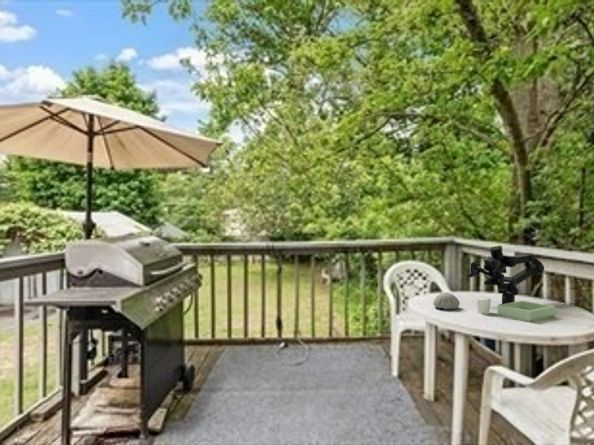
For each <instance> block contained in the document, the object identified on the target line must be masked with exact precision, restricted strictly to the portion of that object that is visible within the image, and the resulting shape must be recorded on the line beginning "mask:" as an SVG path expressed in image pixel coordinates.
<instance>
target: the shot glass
mask: <svg viewBox="0 0 594 445" xmlns="http://www.w3.org/2000/svg"><path fill="white" fill-rule="evenodd" d="M491 301H492V300H491V298H487V297H477V298H476V310H477V313H478V314H480V313H481V314H480V315H488V314H490V312H491Z"/></svg>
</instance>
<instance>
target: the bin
mask: <svg viewBox="0 0 594 445" xmlns="http://www.w3.org/2000/svg"><path fill="white" fill-rule="evenodd" d="M500 304H501V305H500ZM500 304H497V309H496V310H497V313H496V315H497V316H499V317H504V318H508V319H509V318H510V319H513V320H517V321H518V320H519V321H523V322H528V323H532V322H538V321H542V320H546V319H551V318H555V316H556V310H555V309H556V307H555V306H554V305H549V304H543V303H539V302H532V301H527V300H526V301H525V300H517V301H515V302H512V303H506V304H502V303H500Z"/></svg>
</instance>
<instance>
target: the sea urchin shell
mask: <svg viewBox="0 0 594 445" xmlns="http://www.w3.org/2000/svg"><path fill="white" fill-rule="evenodd" d="M460 305H461V304H460V300H459V299H458V298H457V296H456V295H454V294H453V293H449V292H442V293H439V294H438V295H436V297H435V298H434V299H433V306H434V308H436V307H438V308H437V309H440V308H445V309H444V310H456V309H458V308H459V307H460Z"/></svg>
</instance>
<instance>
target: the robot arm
mask: <svg viewBox="0 0 594 445" xmlns="http://www.w3.org/2000/svg"><path fill="white" fill-rule="evenodd" d="M489 253H490V255H487V257H485V259H484V260H483V262H484V265H483V267H481V264H480V263H478V262H476V261H472V262H471V263H470V267H469V268H470V270H469V271H470V272H469V274H468V278H474V277H477V275H480V273H481V274H483V277H487V278H488V279H487V280H485V281H484V282H483V285H487V286H488V285H490V286H497V291H498V294H501V295H502V296H501V303H500V304H499V305H501V304H506V303H512V302H516V296H517V295H519V289H518V287H517V286H518V285H519V284H521V283H522V282H524V281H526V280H527V279H528V278H530V277H532V276H537V275H542V274H543V273H544V271H545V266H544V265H543V263H542V262H541V261H540V260H539V259H537V258H536V256H535V255H533V254H528V253H525V254H520V255H513V256H509V255H504V252H503V246H502V245H497V246H491V247H489ZM520 264H524V267H525V268H524V269H523V270H521V271H519V272H518V273H516V274H515V275H513V276H507V275H506V276H505V274H507V268H514V267H516V266H517V265H520Z"/></svg>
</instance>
